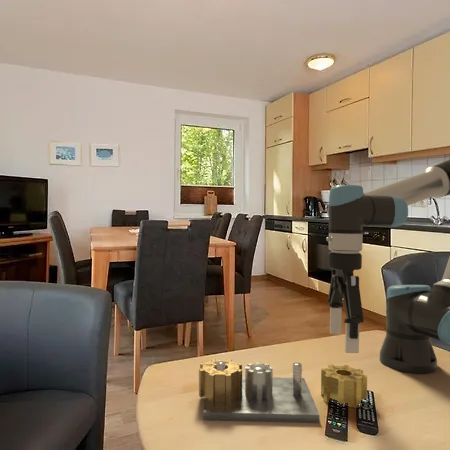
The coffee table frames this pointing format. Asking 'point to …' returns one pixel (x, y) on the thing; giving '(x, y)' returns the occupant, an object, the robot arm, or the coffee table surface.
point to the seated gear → (220, 381)
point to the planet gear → (343, 384)
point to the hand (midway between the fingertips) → (343, 342)
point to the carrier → (266, 398)
